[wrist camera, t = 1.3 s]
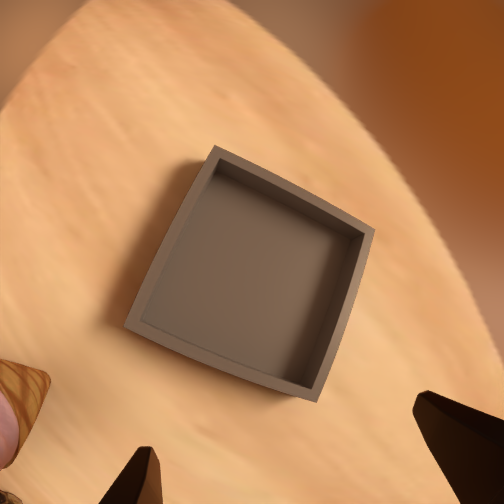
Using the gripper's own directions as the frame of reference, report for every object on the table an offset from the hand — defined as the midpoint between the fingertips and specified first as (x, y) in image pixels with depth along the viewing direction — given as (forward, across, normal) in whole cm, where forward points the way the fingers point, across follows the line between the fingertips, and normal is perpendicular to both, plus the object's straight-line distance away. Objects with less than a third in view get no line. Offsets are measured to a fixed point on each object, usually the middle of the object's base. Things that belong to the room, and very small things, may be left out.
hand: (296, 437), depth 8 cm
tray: (+15, -1, 0) cm, 15 cm away
